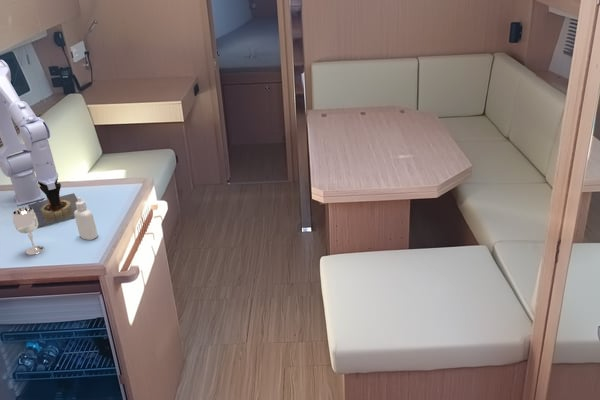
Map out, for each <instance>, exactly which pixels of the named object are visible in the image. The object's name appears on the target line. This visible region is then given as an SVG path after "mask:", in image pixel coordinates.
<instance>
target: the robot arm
mask: <svg viewBox="0 0 600 400" xmlns="http://www.w3.org/2000/svg"><path fill="white" fill-rule="evenodd" d="M11 75H12V74H11V69H10V67H9V64H8V63H7V62H5V60H3V59H0V140H1V143H2V145H3V146H2V148H1V149H0V170H1V172H2V174H3V175H4V176H6V177H8V178H10V183H11V185H12V188H13V191H14V199H15V202H16V205H17V206H21V205H25V204H31V203H33V202H34V203H35V202H39V201H43V199H45V198H44V196H43V193H44V195H45V197H46V196H47V197H46V199H47V198H48V200H49V202H50V204H51V206H52V207H56V206H59V205H60V198H59V195H60V192H61V187H62V184H61V182H58V180H59V172H58V171H57V168H56V165H55V161H54V157H53V153H52V150H51V145H50V141H49V140H48V139H50V137H51V132H50V128H49V126H48V125H47V123H46V121H45V120H44V119H42V118H41V117H39V116H36V114H35V112H34V110H32V108H31V107H30V105H29V104H28V102H26V101H23V100H21V99H20V97H19V95H18V93H17V92H16V90H15V88H14V86H13V85H12V83H11V81H12V77H11ZM7 106H8V108H7ZM13 121H14V123H15V124H16V127H18V128H19V134H20V137H21V139H22V141H23V142H21V140H20V138H19V135H18V133H17V130H16V128H15V125H14V123H13Z"/></svg>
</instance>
